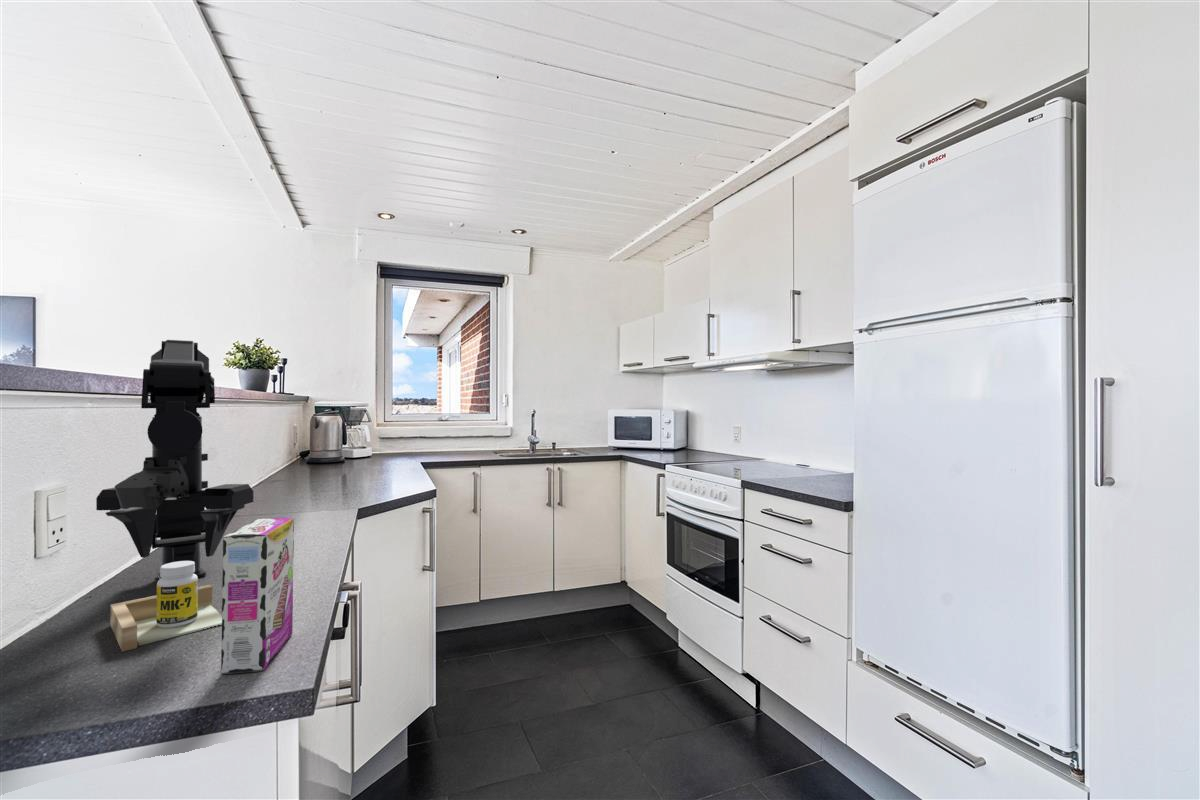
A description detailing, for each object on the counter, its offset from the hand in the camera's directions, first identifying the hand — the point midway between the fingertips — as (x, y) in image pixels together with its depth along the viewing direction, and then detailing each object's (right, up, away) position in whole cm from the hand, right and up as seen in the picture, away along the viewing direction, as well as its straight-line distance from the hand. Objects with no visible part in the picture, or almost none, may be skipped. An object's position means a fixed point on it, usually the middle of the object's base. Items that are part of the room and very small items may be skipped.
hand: (177, 556), depth 80 cm
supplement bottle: (0, -10, 0) cm, 10 cm away
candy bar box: (+18, -10, -9) cm, 22 cm away
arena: (0, -10, 0) cm, 10 cm away
